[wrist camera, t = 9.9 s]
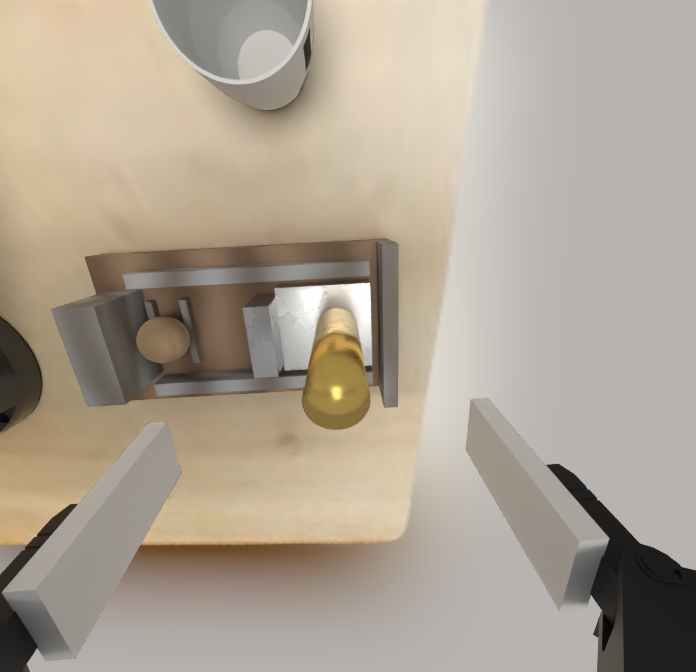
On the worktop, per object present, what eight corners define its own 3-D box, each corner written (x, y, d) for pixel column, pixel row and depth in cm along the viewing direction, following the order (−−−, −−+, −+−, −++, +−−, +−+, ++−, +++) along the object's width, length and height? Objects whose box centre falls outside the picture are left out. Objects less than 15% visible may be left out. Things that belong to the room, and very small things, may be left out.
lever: (266, 364, 31) (217, 466, 18) (254, 285, 29) (187, 341, 16) (370, 358, 31) (393, 455, 19) (368, 279, 29) (392, 330, 16)
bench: (142, 390, 34) (87, 438, 27) (100, 254, 30) (20, 267, 22) (388, 375, 35) (401, 420, 27) (386, 238, 30) (403, 246, 22)
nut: (158, 353, 30) (133, 372, 27) (147, 312, 29) (118, 326, 25) (201, 350, 30) (182, 369, 27) (192, 309, 29) (170, 323, 25)
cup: (329, 122, 27) (325, 70, 17) (232, 138, 27) (174, 96, 17) (311, -7, 24) (293, -153, 14) (202, 12, 24) (114, -119, 15)
